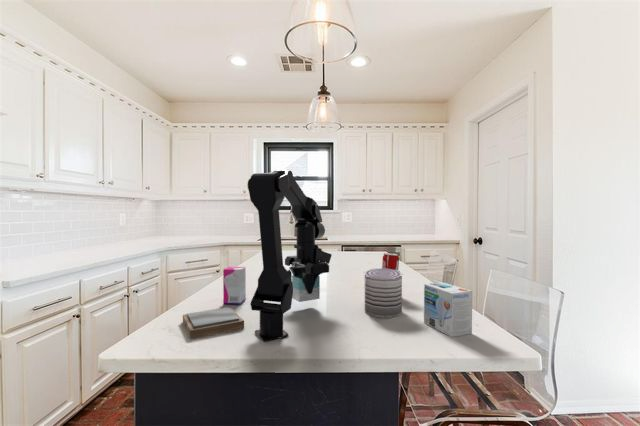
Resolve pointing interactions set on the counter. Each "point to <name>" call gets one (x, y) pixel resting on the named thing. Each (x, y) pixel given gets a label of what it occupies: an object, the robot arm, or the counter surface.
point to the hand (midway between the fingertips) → (305, 291)
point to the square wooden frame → (212, 322)
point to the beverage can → (390, 261)
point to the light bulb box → (448, 308)
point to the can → (383, 292)
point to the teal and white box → (304, 289)
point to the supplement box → (234, 285)
